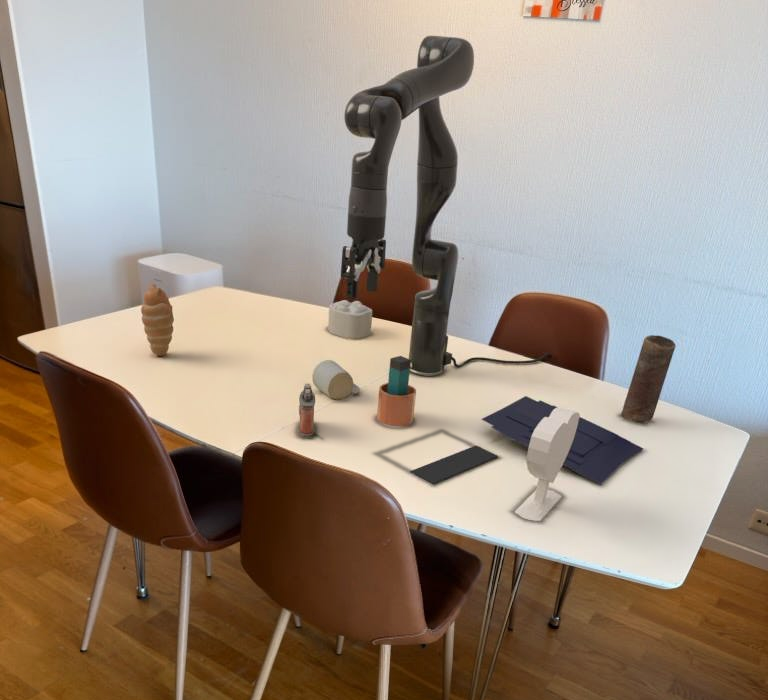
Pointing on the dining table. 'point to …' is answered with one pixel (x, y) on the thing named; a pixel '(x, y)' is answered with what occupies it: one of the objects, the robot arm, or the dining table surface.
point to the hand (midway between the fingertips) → (361, 294)
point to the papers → (590, 444)
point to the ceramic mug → (333, 380)
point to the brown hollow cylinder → (648, 378)
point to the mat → (454, 464)
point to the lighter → (306, 412)
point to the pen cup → (396, 407)
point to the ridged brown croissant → (157, 320)
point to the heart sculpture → (548, 459)
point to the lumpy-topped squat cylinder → (350, 319)
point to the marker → (399, 376)
